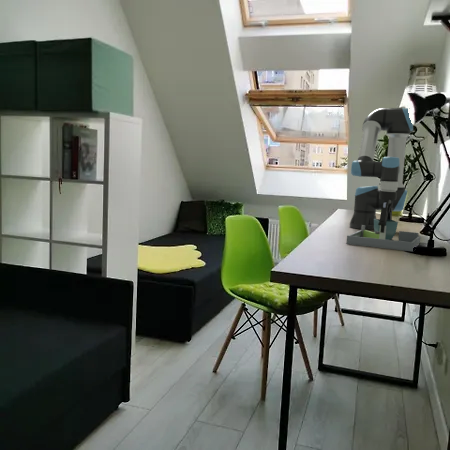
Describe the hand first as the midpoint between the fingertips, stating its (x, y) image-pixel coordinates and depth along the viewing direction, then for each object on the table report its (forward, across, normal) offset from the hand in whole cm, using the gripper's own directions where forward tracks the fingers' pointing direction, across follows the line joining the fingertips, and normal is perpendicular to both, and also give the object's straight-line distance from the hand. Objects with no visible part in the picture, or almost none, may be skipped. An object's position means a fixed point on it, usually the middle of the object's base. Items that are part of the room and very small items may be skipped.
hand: (384, 238), depth 221 cm
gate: (0, +10, -4) cm, 11 cm away
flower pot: (+1, 0, 0) cm, 1 cm away
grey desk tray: (0, +15, +2) cm, 15 cm away
